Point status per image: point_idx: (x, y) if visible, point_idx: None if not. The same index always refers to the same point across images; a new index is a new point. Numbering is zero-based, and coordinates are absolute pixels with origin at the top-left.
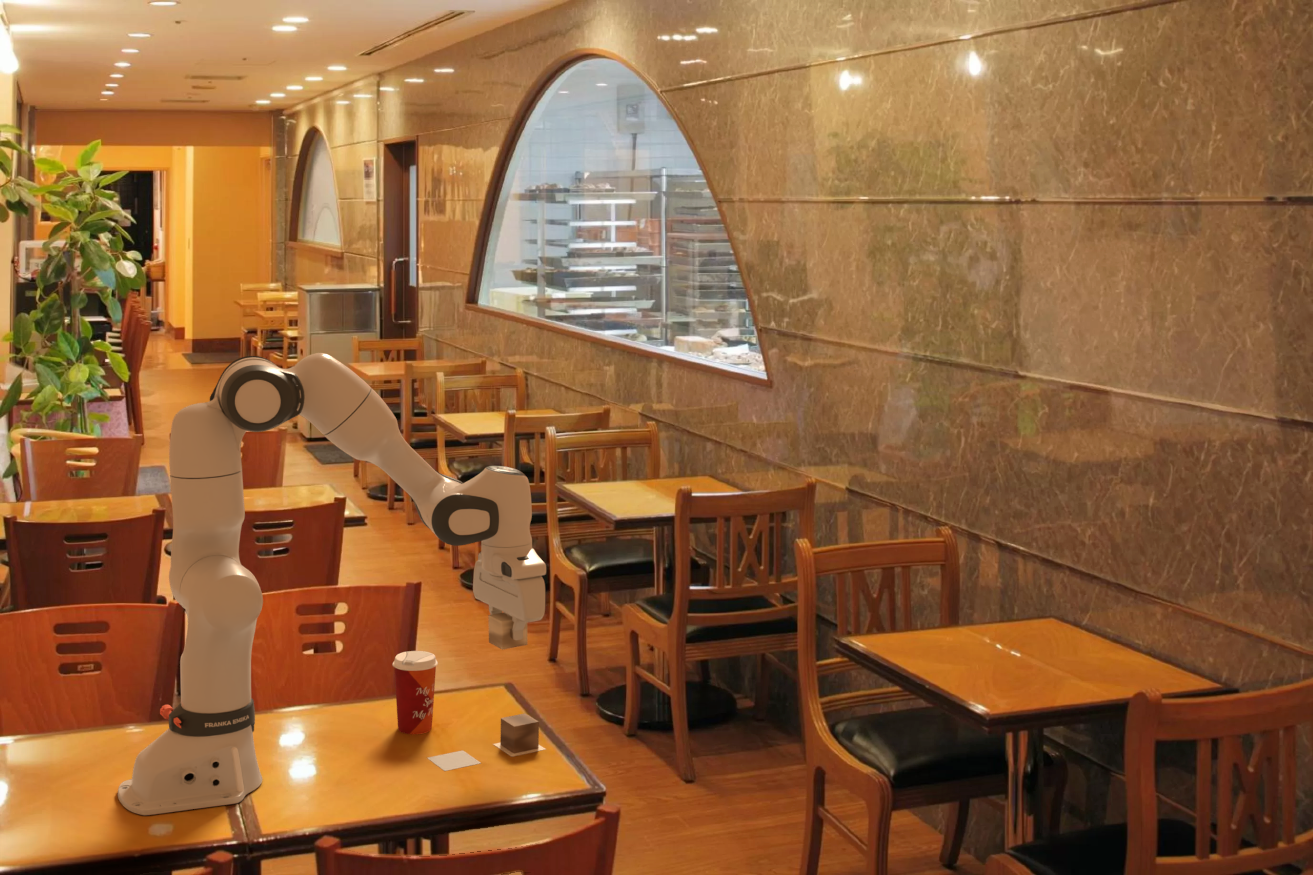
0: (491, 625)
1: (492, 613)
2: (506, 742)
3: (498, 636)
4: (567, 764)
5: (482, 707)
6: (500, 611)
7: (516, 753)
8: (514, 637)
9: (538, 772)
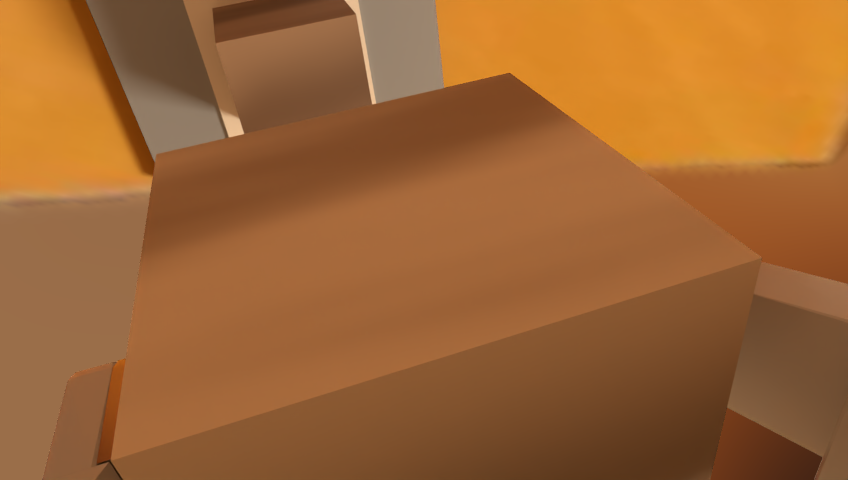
0: (544, 197)
1: (833, 324)
2: (282, 1)
3: (270, 199)
4: (120, 183)
5: (735, 52)
6: (806, 433)
7: (211, 19)
8: (71, 396)
9: (44, 58)
